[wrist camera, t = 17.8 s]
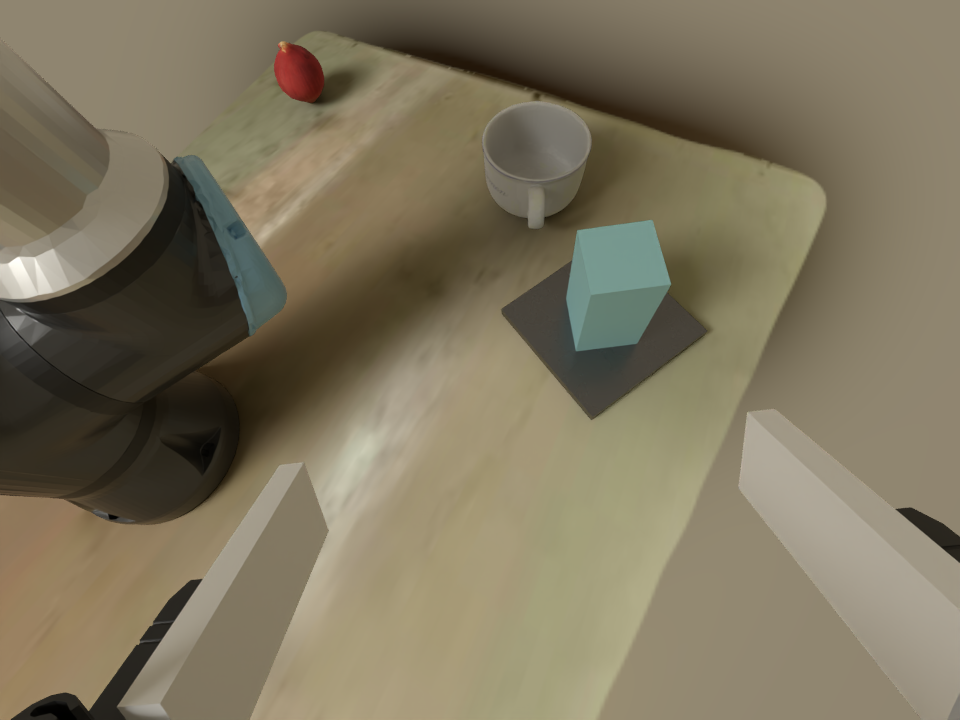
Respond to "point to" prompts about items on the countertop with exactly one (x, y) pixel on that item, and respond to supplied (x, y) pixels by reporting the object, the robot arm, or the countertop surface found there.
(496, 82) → the countertop surface
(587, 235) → the teal upright box
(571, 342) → the gray square peg stand
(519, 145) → the teacup
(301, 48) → the onion
